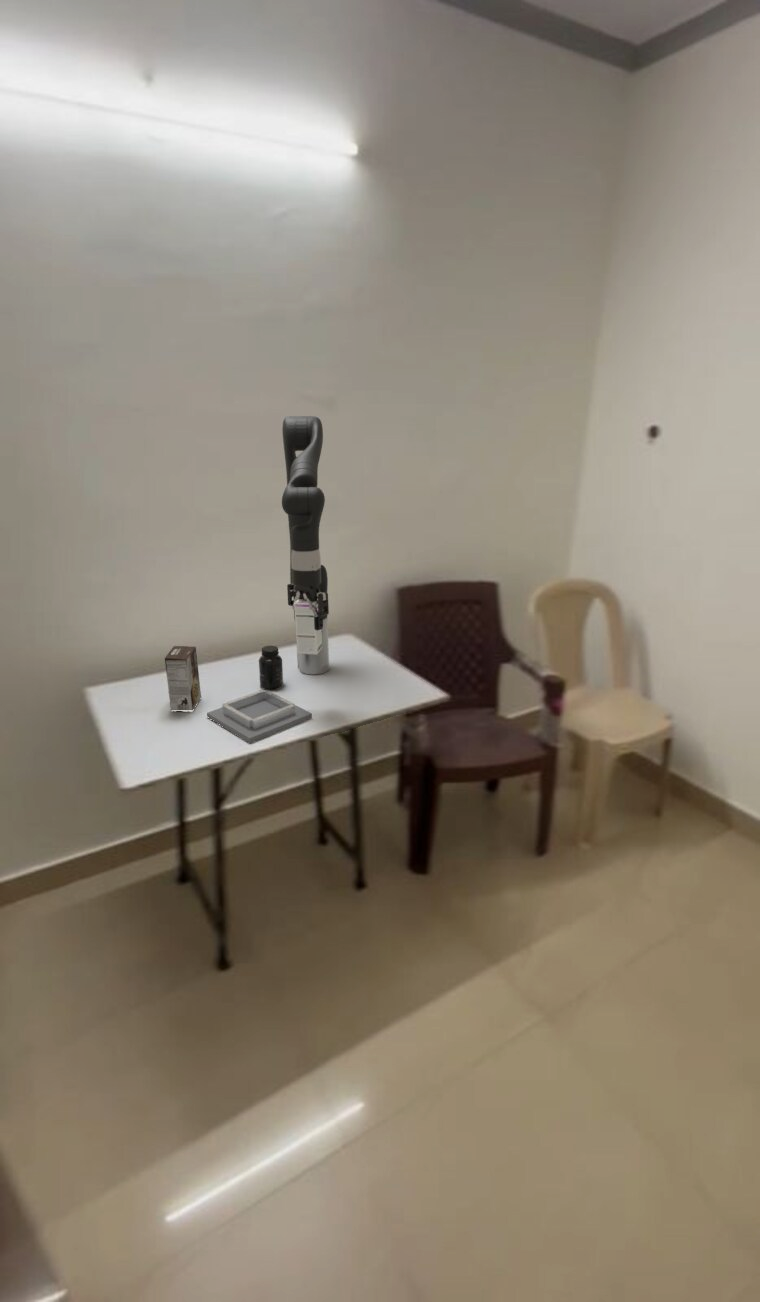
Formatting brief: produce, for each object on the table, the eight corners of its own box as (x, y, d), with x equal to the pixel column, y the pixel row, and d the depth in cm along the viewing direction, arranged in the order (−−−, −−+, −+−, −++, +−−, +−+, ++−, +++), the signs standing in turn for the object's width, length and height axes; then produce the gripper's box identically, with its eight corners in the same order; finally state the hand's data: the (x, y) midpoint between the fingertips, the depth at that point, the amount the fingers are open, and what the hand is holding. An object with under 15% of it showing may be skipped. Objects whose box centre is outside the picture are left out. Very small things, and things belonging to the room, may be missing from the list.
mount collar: (221, 712, 195) (220, 704, 195) (265, 696, 205) (265, 688, 204) (252, 730, 186) (251, 722, 185) (297, 713, 195) (296, 704, 194)
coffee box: (179, 698, 208) (173, 645, 202) (202, 698, 208) (196, 645, 202) (170, 712, 199) (163, 657, 193) (193, 712, 199) (187, 658, 193)
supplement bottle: (256, 688, 214) (253, 650, 209) (267, 679, 220) (264, 642, 215) (276, 692, 211) (274, 653, 207) (287, 683, 217) (285, 645, 213)
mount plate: (207, 717, 196) (206, 712, 196) (268, 695, 209) (267, 691, 208) (250, 743, 183) (249, 738, 182) (312, 718, 196) (311, 713, 195)
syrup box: (317, 655, 192) (315, 602, 187) (296, 653, 193) (293, 601, 188) (323, 647, 198) (321, 596, 192) (302, 646, 199) (300, 595, 193)
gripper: (277, 563, 189) (280, 623, 195) (312, 573, 180) (315, 635, 186) (300, 558, 194) (302, 616, 200) (335, 568, 185) (337, 628, 191)
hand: (308, 625), depth 193 cm, fingers closed on syrup box, 7 cm apart
